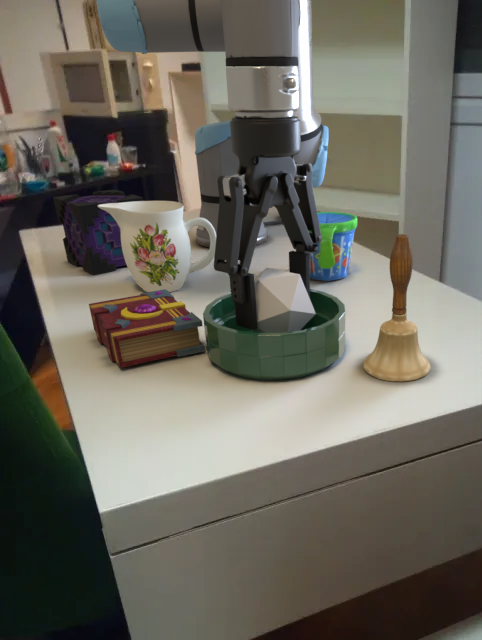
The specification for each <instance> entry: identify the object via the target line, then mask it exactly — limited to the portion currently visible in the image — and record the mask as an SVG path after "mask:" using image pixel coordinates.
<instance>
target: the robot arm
mask: <svg viewBox="0 0 482 640" xmlns="http://www.w3.org/2000/svg"><path fill="white" fill-rule="evenodd" d="M95 1H96V9H97V13H98V18H99V22H100V25H101V29H102V32H103V35H104V37H105V39H106V41H107V43H108V44H109V45H110V46H111V48H113V49H114V50H115V51H117V52H124V53H137V54H138V53H139V54H140V53H141V54H142V55H147V54H153V53H154V54H155V53H157V54H158V53H159V54H160V53H161V54H162V53H195V52H196V53H198V52H199V53H217V52H218V53H225V76H226V77H225V79H226V89H227V90H226V93H227V107H228V110H229V111H230V112H233V113H234V117H231V119H229V120H223V121H218V122H212V123H208V124H204V125H201V126H199V127H198V128H197V129H196V130H195V132H194V146H195V151H194V155H195V159H196V168H197V176H198V186H199V194H200V195H199V196H200V210H199V217H201V218H205V219H206V220H208V221H209V222H210V223H211V224H212V226H213V227H214V230H215V232H216V246H215V256H214V258H213V269H214V270H215V272H220V273H223V274H227V275H228V277H229V287H230V293H231V298H232V301H233V302H235V313H236V325H237V326H240V327H244V328H248V329H251V330H255V329H257V328H258V326H257V311H256V296H255V281H254V280H255V274H254V273H250V267H251V263H252V260H253V256H254V252H255V249H256V246H258V245H262V244H264V243H265V242H267V241H268V230H267V227H266V226H272V225H279V224H282V225H283V227H284V230H285V232H286V234H287V237H288V240H289V241H290V244H291V246H292V248H293V249H294V250H290V251H288V270H289V271H288V272H290V273H295V274H300V276H301V279H302V281H303V284H304V286H305V288H306V291H307V293H308V296H309V298H310V289H311V279H310V273H311V254H310V253H311V252H312V253H316V252H317V251H318V245H316V244H320V242H321V240H322V236H321V231H320V225H319V220H318V214H317V212H318V209H317V203H316V197H315V192H314V189H315V188H318V187H320V186H322V184H323V182H324V179H325V174H326V168H327V160H328V149H329V136H330V134H329V133H330V130H329V127H328V126H327V125H325V124H323V123H322V116H321V114H320V113H319V112H318V111H317V110H316V109H314V69H313V66H314V64H313V12H312V11H313V8H312V7H313V5H312V4H313V2H312V0H95ZM272 208H275V209H276V211H277V213H278V215H279V218H280V219H279V220H272V221H264V220H263V219H264V218H265V217H266V218H267V216H268V214H269V210H270V209H272ZM195 231H196V232H195V238H196V243H197V244H198V245H199V246H201V247H205V248H210V244H211V241H210V235H209V233H208V231H207V229H206V228H205V227H203V226H201V225H197V228H196V229H195ZM309 231H312V233H309Z"/></svg>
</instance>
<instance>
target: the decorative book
mask: <svg viewBox="0 0 482 640" xmlns="http://www.w3.org/2000/svg"><path fill="white" fill-rule="evenodd" d="M88 308H89V311H90V312H89V313H90V316H91V321H92V326H93V330H94V332H95V335H96V339H97V341H98V342H99V344H100V345H104V346H105V348H106V349H107V355H108V357H109V359H110V360H111V362H112V363H113V362H116V364H117V365H118V367H119V368H120V369H122V368H127V367H131V366H134V365H135V366H136V365H140V364H144V363H149V362H153V361H158V360H162V359H167V358H171V357H175V356H177V357H183V356H188V355H192V354H197V353H202V352H207V349H206V345H205V344H204V343H203V342H202V341H201V340H200V333H199V327H204V324H203V320H202V319H201V318H200V317H198V316H197V314H195V313H194V312H193V311H191V312H190V311H189V310H188V309H187V307H186V303H184V302H183V301H182V300H179V301H177V300H176V299H175V296H174V295H173V294H172V293H171V292H168V291H167V290H166V289H163V290H158V291H152V292H142V293H139V294H138V295H133V296H127V297H121V298H115V299H109V300H103V301H97V302H91V303H88Z"/></svg>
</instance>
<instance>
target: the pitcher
mask: <svg viewBox="0 0 482 640" xmlns="http://www.w3.org/2000/svg"><path fill="white" fill-rule="evenodd" d="M98 207H99V208H100V209H102V210H105V211H106V212H108V213H109V214H111V216H112V217H113V218H114V219H115V220H116V222H117V224H118V225H119V227H120V230H121V245H122V251H123V255H124V259H125V262H126V265H125V266H126V267H127V270H128V271H129V273H130V276H131V277H132V278H133V280H134V281H135V283H136V284H137V285H138V286H139V287H140V288H141V289H142V290H143V291H144V292H145V293H147V292H152V291H158V290H163V289H166V290H167V291H168V292H169V293H173V292H176V291H178V290H180V289H181V288H182V287H183V285H184V283H185V281H186V279H187V278H188V275H189V274H191V273H194V272H197V271H199V270H202V269H204V268H206V267H207V266H208V265H210V263H211V262H213V261H214V256H215V246H216V232H215V230H214V227H213V226H212V224H211V223H210V222H209V221H208V220H206V219H205V218H201V217H198V216H197V217H194V218H191V219H189V220H184V209H185V207H184V204H183V203H182V202H178V201H174V200H173V201H172V200H143V201H133V202H122V203H108V204H100V205H98ZM198 225H201V226H203V227H205V228H206V229H207V231H208V233H209V235H210V241H211V244H210V247H209V250H208V252H207V253H206V255H204V257H202V258H201V259H200V260H198V261H195V262H191V257H192V249H191V247H192V246H191V239H190V235H189V232H190V230H191V229H192V228H194V227H196V226H197V227H198Z"/></svg>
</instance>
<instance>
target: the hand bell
mask: <svg viewBox="0 0 482 640" xmlns="http://www.w3.org/2000/svg"><path fill="white" fill-rule="evenodd" d="M413 265H414V257H413V251H412V247H411V244H410V240H409V235H408V234H406V233H399V234H397V235H396V236H395V241H394V244H393V247H392V249H391V252H390V257H389V275H390V276H389V277H390V282H391V285H392V292H393V293H392V308H391V312H392V313H391V318H390V319H389V320H386V321H384V322H383V323H381V324H380V326H379V331H378V332H379V333H378V336H377V337H378V338H377V341H376V344H375V348H373V350H372V352H371V353H370V354H368V355H367V357H366V358H365V359H364V361H363V362H362V367H363V371H364V372H365V373H366V374H368V375H369V376H371V377H372V378H377V379H378V380H382V381H388V382H401V383H402V382H410V381H417V380H420V379H422V378H424V377H425V376H427V375H428V374H429V373H430V372H431V368H432V366H431V363H430V361H429V360H428V358H427V357H426V356H425V355H424V354H423V352H422V350H421V347H420V342H419V332H418V326H417V324H416V323H414V322H412V321H411V320H408V317H407V296H408V295H407V294H408V288H409V284H410V281H411V279H412V276H413V275H412V274H413Z"/></svg>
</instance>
